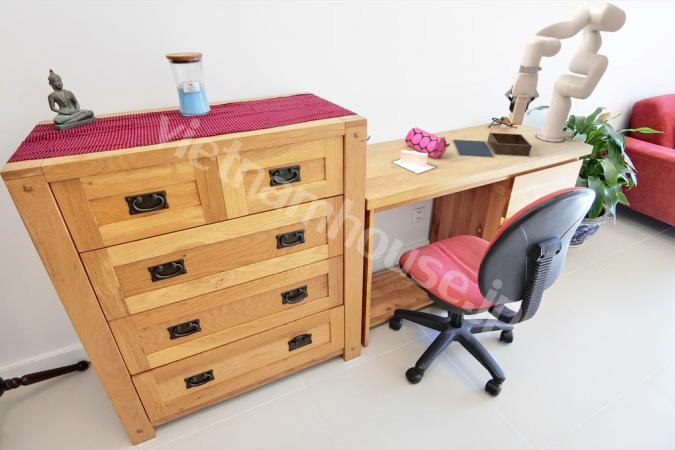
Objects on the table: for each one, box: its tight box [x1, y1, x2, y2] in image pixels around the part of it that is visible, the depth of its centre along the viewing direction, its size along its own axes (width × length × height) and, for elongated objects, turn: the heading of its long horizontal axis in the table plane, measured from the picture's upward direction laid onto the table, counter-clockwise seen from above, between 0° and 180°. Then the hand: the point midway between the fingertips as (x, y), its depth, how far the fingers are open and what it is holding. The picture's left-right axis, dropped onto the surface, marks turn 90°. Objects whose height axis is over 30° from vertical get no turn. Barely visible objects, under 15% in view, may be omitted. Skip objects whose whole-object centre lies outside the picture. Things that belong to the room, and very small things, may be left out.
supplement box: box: [508, 95, 529, 126], centre depth 172 cm, size 8×5×13 cm, turn 169°
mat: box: [453, 139, 494, 158], centre depth 182 cm, size 15×20×1 cm
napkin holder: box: [392, 149, 435, 174], centre depth 162 cm, size 15×11×6 cm
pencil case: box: [404, 126, 451, 159], centre depth 175 cm, size 21×10×10 cm, turn 35°
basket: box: [486, 132, 533, 157], centre depth 181 cm, size 16×17×5 cm
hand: (517, 111), depth 172 cm, fingers closed on supplement box, 5 cm apart
